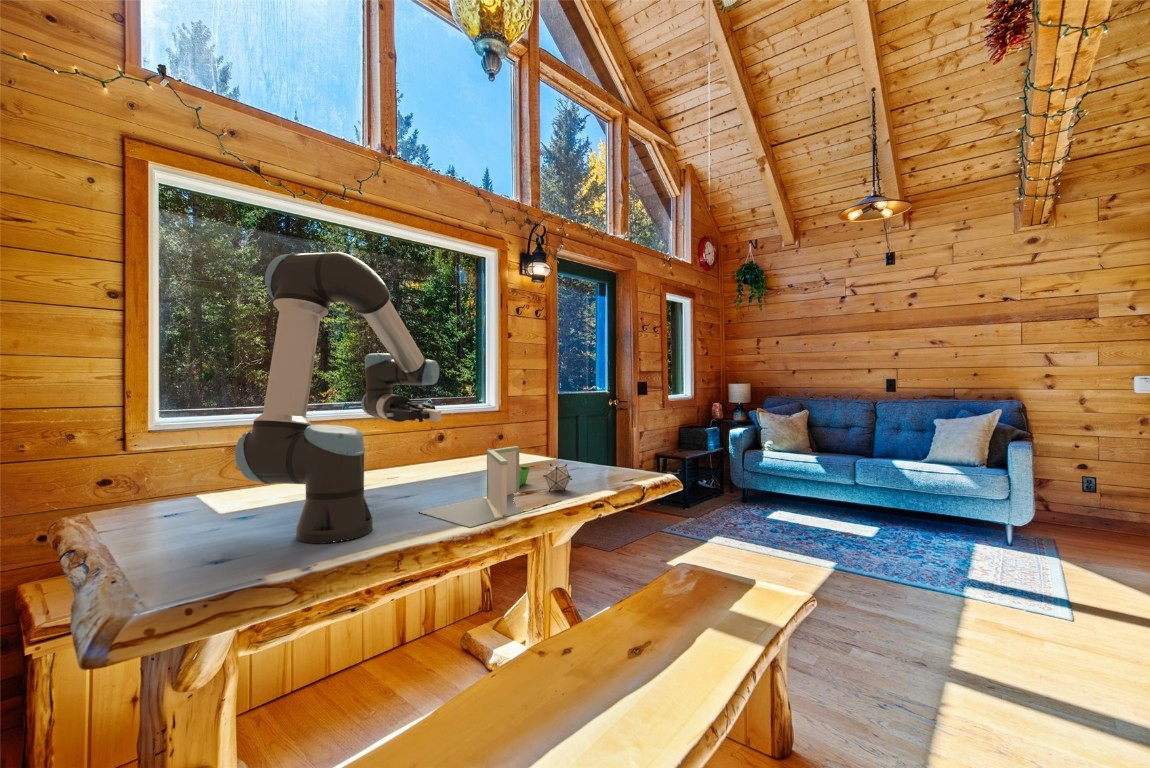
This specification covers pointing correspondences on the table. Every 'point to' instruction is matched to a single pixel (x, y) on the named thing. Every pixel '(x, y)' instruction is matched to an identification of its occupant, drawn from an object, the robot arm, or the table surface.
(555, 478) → the game die
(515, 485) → the fixed fence panel
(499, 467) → the beige flat upright board
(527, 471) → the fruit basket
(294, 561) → the table surface
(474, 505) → the board
